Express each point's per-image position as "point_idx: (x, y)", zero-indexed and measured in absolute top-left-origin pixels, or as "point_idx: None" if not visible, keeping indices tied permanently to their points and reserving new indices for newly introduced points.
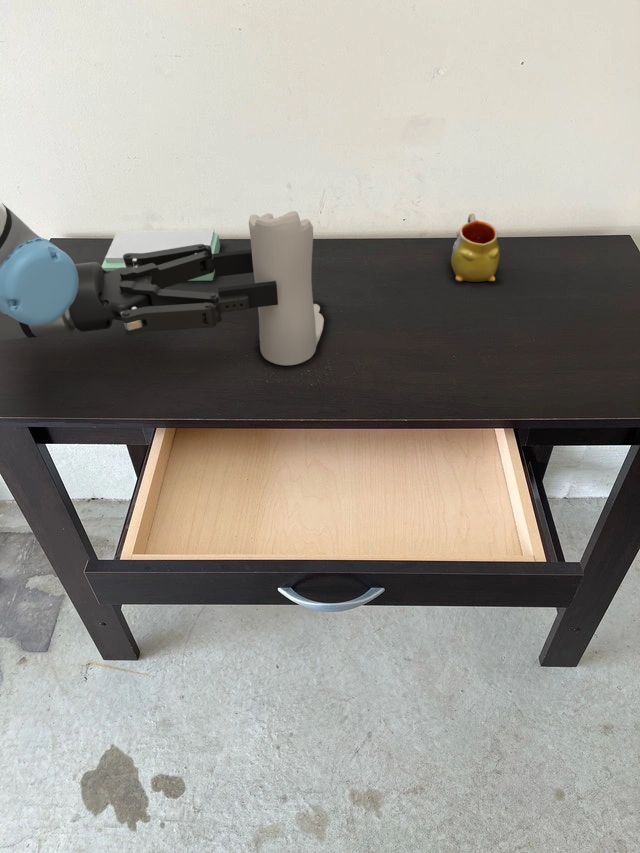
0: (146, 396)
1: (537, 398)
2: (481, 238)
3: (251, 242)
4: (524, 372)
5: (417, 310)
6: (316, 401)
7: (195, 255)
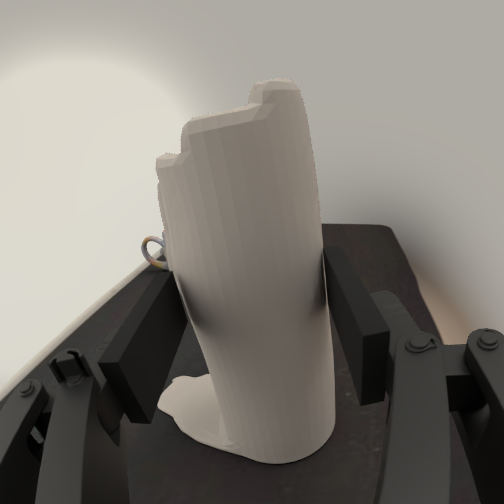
0: None
1: (380, 247)
2: None
3: (242, 181)
4: (348, 251)
5: None
6: None
7: (61, 412)
